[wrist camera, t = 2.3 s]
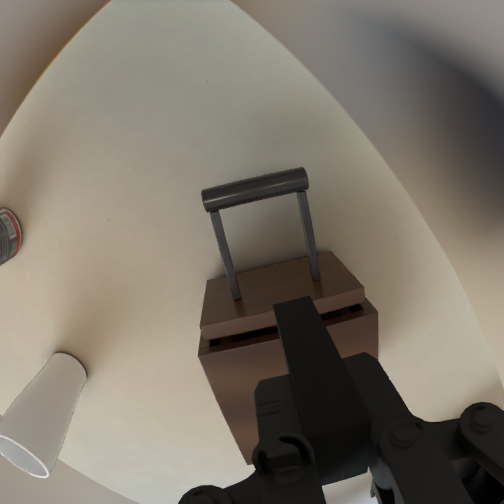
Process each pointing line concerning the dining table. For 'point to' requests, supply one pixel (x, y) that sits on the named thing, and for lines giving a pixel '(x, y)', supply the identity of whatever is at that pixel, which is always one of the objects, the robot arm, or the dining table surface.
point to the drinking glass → (42, 416)
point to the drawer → (270, 268)
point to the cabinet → (272, 367)
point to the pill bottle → (9, 236)
